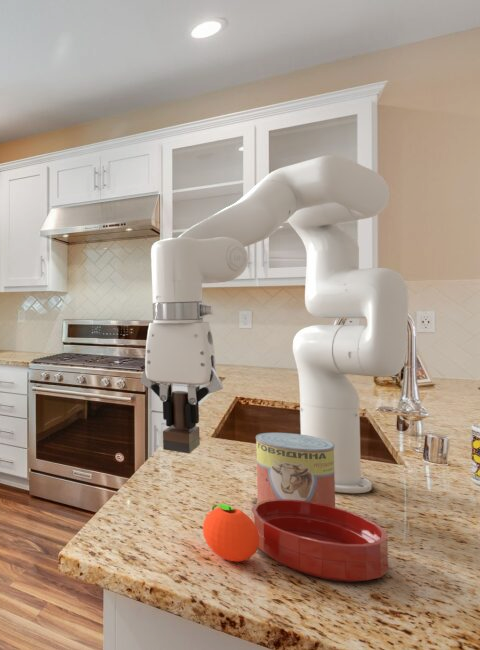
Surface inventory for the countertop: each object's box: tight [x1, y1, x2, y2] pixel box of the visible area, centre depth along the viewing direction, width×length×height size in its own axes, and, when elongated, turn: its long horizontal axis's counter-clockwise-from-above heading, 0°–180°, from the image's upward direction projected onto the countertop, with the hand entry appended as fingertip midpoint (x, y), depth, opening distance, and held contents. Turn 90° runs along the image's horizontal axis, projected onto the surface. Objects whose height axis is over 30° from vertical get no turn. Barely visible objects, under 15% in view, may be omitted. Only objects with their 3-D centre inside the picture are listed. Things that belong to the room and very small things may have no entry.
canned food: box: [255, 431, 336, 507], centre depth 82 cm, size 11×11×12 cm
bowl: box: [251, 499, 389, 583], centre depth 67 cm, size 15×15×5 cm
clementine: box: [202, 503, 259, 562], centre depth 67 cm, size 8×7×7 cm
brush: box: [162, 390, 201, 454], centre depth 78 cm, size 6×4×9 cm, turn 140°
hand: (181, 425), depth 78 cm, fingers closed on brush, 2 cm apart
